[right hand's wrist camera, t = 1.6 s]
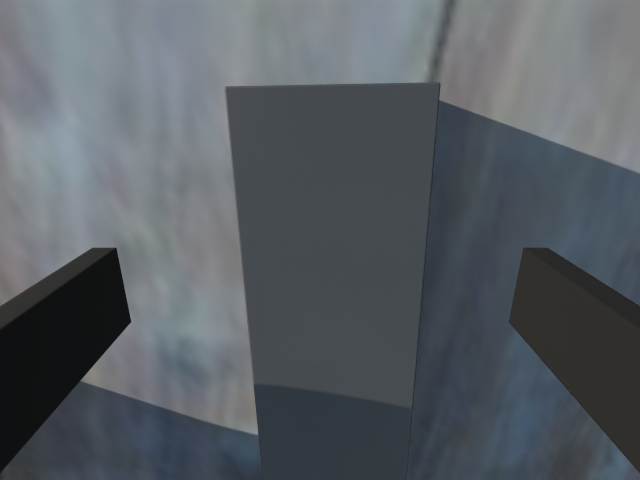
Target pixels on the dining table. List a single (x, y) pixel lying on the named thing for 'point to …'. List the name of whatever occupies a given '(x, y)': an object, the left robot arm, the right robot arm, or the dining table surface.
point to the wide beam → (333, 268)
